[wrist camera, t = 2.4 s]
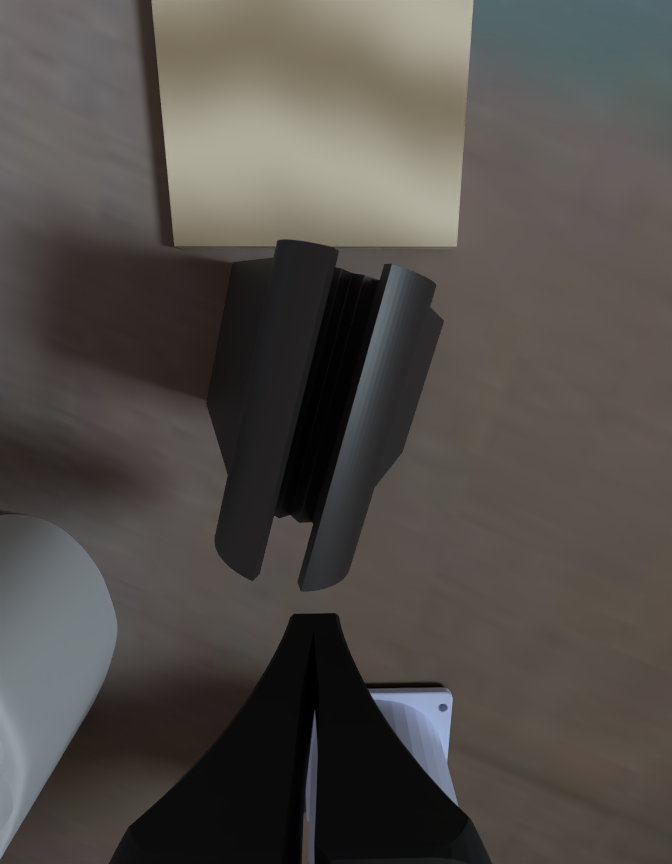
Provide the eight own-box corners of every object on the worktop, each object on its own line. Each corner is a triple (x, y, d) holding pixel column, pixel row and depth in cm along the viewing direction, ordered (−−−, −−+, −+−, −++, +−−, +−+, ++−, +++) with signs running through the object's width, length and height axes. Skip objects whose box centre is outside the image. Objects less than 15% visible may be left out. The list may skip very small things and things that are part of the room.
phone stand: (208, 401, 19) (27, 532, 8) (235, 262, 18) (62, 164, 6) (400, 450, 20) (500, 637, 8) (442, 320, 18) (634, 332, 7)
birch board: (451, 249, 18) (456, 246, 17) (181, 249, 17) (174, 246, 17) (473, -96, 15) (481, -119, 14) (149, -102, 15) (140, -125, 14)
